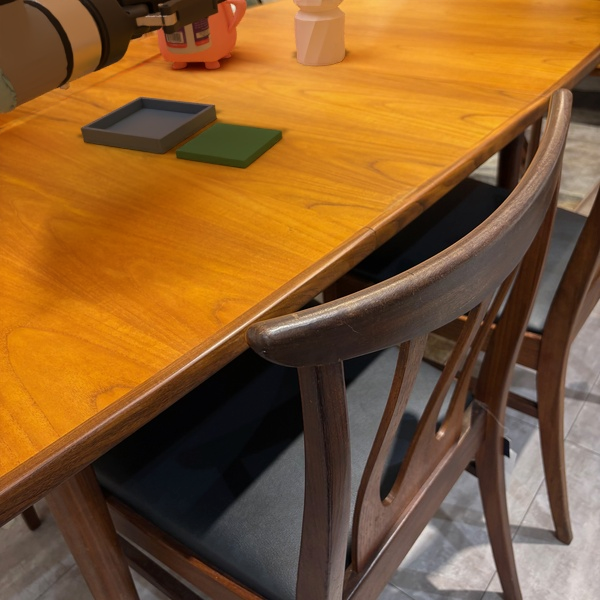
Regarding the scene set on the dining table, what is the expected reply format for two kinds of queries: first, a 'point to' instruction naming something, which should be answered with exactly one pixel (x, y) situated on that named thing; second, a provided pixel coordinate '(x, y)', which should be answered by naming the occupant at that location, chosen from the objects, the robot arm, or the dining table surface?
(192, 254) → the dining table surface
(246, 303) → the dining table surface
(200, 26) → the pill bottle
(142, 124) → the tray
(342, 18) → the vase
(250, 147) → the scouring pad
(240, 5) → the pink handled pot
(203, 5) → the robot arm
